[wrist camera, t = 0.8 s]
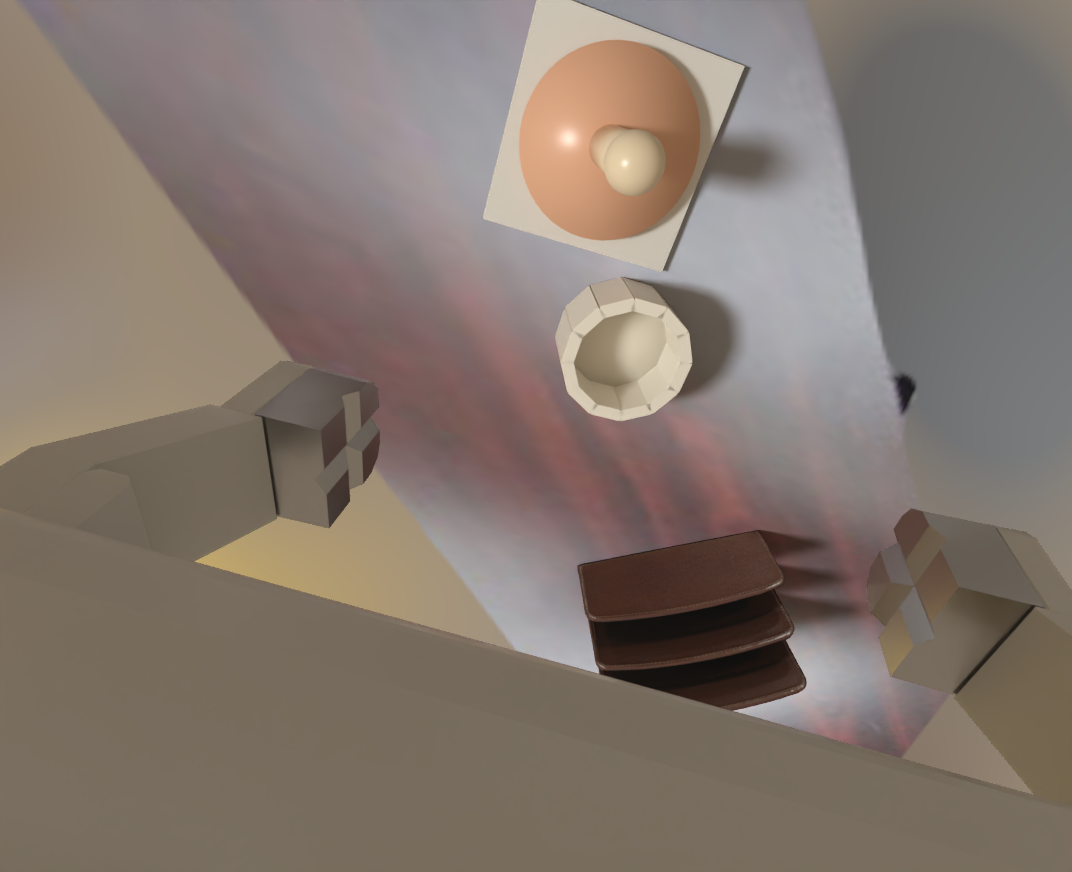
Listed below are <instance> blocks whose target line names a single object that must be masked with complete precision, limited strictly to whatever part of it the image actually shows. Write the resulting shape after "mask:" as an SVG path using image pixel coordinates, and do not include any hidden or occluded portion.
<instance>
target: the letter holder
mask: <svg viewBox="0 0 1072 872" xmlns="http://www.w3.org/2000/svg"><path fill="white" fill-rule="evenodd" d="M578 574H579V578H580V584H581V590H582V597H583V603H584V610H585V614H586V616H587V618H588V621H589V627H590V633H591V638H592V644H593V650H594V656H595V662H596V665H597V666H598V668H599V674H601V675H605V676H608V677H612V678H615V679H619V680H623V681H626V682H630V683H633V684H637V685H641V686H644V687H648V688H652V689H655V690H659V691H662V692H666V693H670V694H673V695H677V696H680V697H684V698H688V699H691V700H695V701H698V702H702V703H706V704H709V705H713V706H716V707H720V708H724V709H727V710H731V711H733V710H738V709H743V708H747V707H751V706H755V705H759V704H763V703H767V702H771V701H774V700H777V699H781V698H784V697H787V696H790V695H793V694H796V693H799V692H800V691H802V690H803V689H804V688H805V687H806V683H807V682H806V678H805V676H804V674H803V672H802V670H801V668H800V666H799V665H798V663H797V661H796V659H795V657H794V655H793V653H792V651H791V649H790V648H789V646H788V644H787V642H786V639H788V638H790V637H791V635H792V634H793V632H794V625H793V623H792V621H791V619H790V617H789V615H788V614H787V612H786V610H785V608H784V606H783V604H782V603H781V601H780V599H779V597H778V595H777V593H776V591H775V590H774V589H775V588H778V587H780V586H781V585H782V584H783V583H784V575H783V572H782V570H781V569H780V567H779V565H778V564H777V562H776V560H775V558H774V557H773V555H772V553H771V551H770V549H769V547H768V545H767V544H766V542H765V540H764V538H763V537H762V535H761V533H760V532H759V531H753V532H748V533H742V534H737V535H733V536H726V537H722V538H717V539H712V540H706V541H700V542H695V543H690V544H684V545H680V546H674V547H669V548H664V549H659V550H653V551H648V552H643V553H638V554H632V555H628V556H622V557H618V558H612V559H607V560H603V561H597V562H592V563H587V564H583V565H578Z"/></svg>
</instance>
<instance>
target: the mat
mask: <svg viewBox="0 0 1072 872" xmlns="http://www.w3.org/2000/svg"><path fill="white" fill-rule="evenodd" d="M604 40H627V41H633V42H637V43H640V44H644V45H646V46H648V47H650V48H652V49H654V50H656V51H658V52H659V53H661V54H662V55H664V56H665V57H666V58H667V59H668V60H670V61H671V62H672V63H673V64H674V65H675V66H676V67H677V69H678V70H679V71H680V72H681V74H682V75H683V76H684V78H685V80H686V81H687V83H688V85H689V86H690V89H691V91H692V93H693V96H694V98H695V101H696V105H697V109H698V113H699V120H700V147H699V154H698V158H697V163H696V166H695V169H694V172H693V175H692V177H691V180H690V182H689V184H688V186H687V188H686V190H685V191H684V193H683V194H682V196H681V198H680V199H679V200H678V202H677V203H676V204H675V205H674V207H673V208H672V209H671V210H670V211H669V212H668V213H667V214H666V215H665V216H664V217H663V218H662V219H660V220H659V221H658V222H657V223H655V224H654V225H652V226H651V227H649V228H647V229H646V230H644V231H642V232H640V233H637V234H635V235H632V236H629V237H626V238H622V239H616V240H604V241H601V240H591V239H586V238H582V237H579V236H576V235H574V234H571V233H569V232H567V231H565V230H564V229H562V228H560V227H559V226H557V225H556V224H555V223H553V222H552V221H551V220H550V219H549V218H548V217H547V216H546V215H545V214H544V213H543V212H542V211H541V209H540V208H539V207H538V205H537V204H536V203H535V201H534V199H533V197H532V196H531V194H530V192H529V190H528V187H527V185H526V183H525V179H524V176H523V172H522V169H521V162H520V156H519V136H520V127H521V122H522V117H523V114H524V111H525V108H526V105H527V103H528V100H529V98H530V96H531V94H532V92H533V90H534V89H535V87H536V85H537V84H538V82H539V81H540V79H541V78H542V77H543V76H544V75H545V73H546V72H547V71H548V70H549V69H550V68H551V67H552V66H553V65H554V64H555V63H556V62H557V61H559V60H560V59H561V58H563V57H564V56H566V55H567V54H568V53H570V52H572V51H574V50H576V49H578V48H580V47H583V46H586V45H588V44H591V43H594V42H599V41H604ZM744 67H745V66H743V65H740V64H738V63H735V62H733V61H730V60H727V59H725V58H722V57H719V56H717V55H714V54H711V53H709V52H706V51H704V50H701V49H698V48H696V47H693V46H690V45H688V44H685V43H683V42H680V41H677V40H675V39H672V38H669V37H667V36H664V35H661V34H659V33H656V32H654V31H651V30H648V29H646V28H643V27H640V26H638V25H635V24H632V23H630V22H627V21H625V20H622V19H619V18H617V17H614V16H611V15H609V14H606V13H604V12H601V11H598V10H596V9H593V8H590V7H588V6H585V5H582V4H580V3H577V2H575V1H572V0H536V4H535V8H534V12H533V16H532V20H531V24H530V28H529V32H528V37H527V41H526V45H525V49H524V53H523V57H522V61H521V65H520V69H519V73H518V77H517V81H516V85H515V89H514V93H513V97H512V101H511V105H510V110H509V114H508V118H507V122H506V126H505V130H504V134H503V138H502V142H501V146H500V150H499V154H498V158H497V162H496V166H495V170H494V174H493V178H492V182H491V187H490V191H489V195H488V199H487V203H486V207H485V211H484V215H483V219H486V220H489V221H492V222H496V223H499V224H502V225H506V226H509V227H512V228H516V229H519V230H522V231H526V232H529V233H532V234H536V235H539V236H542V237H546V238H549V239H552V240H556V241H559V242H562V243H566V244H569V245H572V246H576V247H579V248H582V249H586V250H589V251H592V252H596V253H599V254H602V255H606V256H609V257H613V258H616V259H619V260H623V261H626V262H629V263H633V264H636V265H639V266H643V267H646V268H649V269H653V270H656V271H659V272H662V271H663V268H664V266H665V263H666V261H667V258H668V256H669V253H670V251H671V248H672V246H673V243H674V241H675V238H676V236H677V233H678V231H679V228H680V226H681V223H682V221H683V219H684V216H685V214H686V211H687V209H688V206H689V204H690V201H691V199H692V196H693V194H694V191H695V189H696V186H697V184H698V181H699V179H700V176H701V174H702V171H703V169H704V166H705V164H706V161H707V159H708V156H709V154H710V151H711V149H712V146H713V144H714V141H715V139H716V136H717V134H718V131H719V129H720V127H721V124H722V122H723V119H724V117H725V114H726V112H727V109H728V107H729V104H730V102H731V99H732V97H733V94H734V92H735V89H736V87H737V84H738V82H739V79H740V77H741V74H742V72H743V69H744Z"/></svg>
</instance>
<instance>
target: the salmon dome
mask: <svg viewBox="0 0 1072 872" xmlns="http://www.w3.org/2000/svg"><path fill="white" fill-rule="evenodd" d="M699 147H700V120H699V113H698V109H697V105H696V101H695V98H694V96H693V93H692V91H691V89H690V86H689V85H688V83H687V81H686V80H685V78H684V76H683V75H682V74H681V72H680V71H679V70H678V69H677V67H676V66H675V65H674V64H673V63H672V62H671V61H670V60H668V59H667V58H666V57H665V56H664V55H662V54H661V53H659V52H658V51H656V50H654V49H652V48H650V47H648V46H646V45H644V44H640V43H637V42H633V41H627V40H604V41H599V42H594V43H591V44H588V45H586V46H583V47H580V48H578V49H576V50H574V51H572V52H570V53H568V54H567V55H566V56H564V57H563V58H561V59H560V60H559V61H557V62H556V63H555V64H554V65H553V66H552V67H551V68H550V69H549V70H548V71H547V72H546V73H545V75H544V76H543V77H542V78H541V79H540V81H539V82H538V84H537V85H536V87H535V89H534V90H533V92H532V94H531V96H530V98H529V100H528V103H527V105H526V108H525V111H524V114H523V117H522V122H521V127H520V136H519V156H520V162H521V169H522V172H523V176H524V179H525V183H526V185H527V187H528V190H529V192H530V194H531V196H532V197H533V199H534V201H535V203H536V204H537V205H538V207H539V208H540V209H541V211H542V212H543V213H544V214H545V215H546V216H547V217H548V218H549V219H550V220H551V221H552V222H553V223H555V224H556V225H557V226H559V227H560V228H562V229H564V230H565V231H567V232H569V233H571V234H574V235H576V236H579V237H582V238H586V239H591V240H601V241H604V240H616V239H622V238H626V237H629V236H632V235H635V234H637V233H640V232H642V231H644V230H646V229H647V228H649V227H651V226H652V225H654V224H655V223H657V222H658V221H659V220H660V219H662V218H663V217H664V216H665V215H666V214H667V213H668V212H669V211H670V210H671V209H672V208H673V207H674V205H675V204H676V203H677V202H678V200H679V199H680V198H681V196H682V194H683V193H684V191H685V190H686V188H687V186H688V184H689V182H690V180H691V177H692V175H693V172H694V169H695V166H696V163H697V158H698V154H699Z"/></svg>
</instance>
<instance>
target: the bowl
mask: <svg viewBox="0 0 1072 872" xmlns="http://www.w3.org/2000/svg"><path fill="white" fill-rule="evenodd" d="M555 339H556V344H557V348H558V353H559V357H560V362H561V366H562V371H563V375H564V379H565V384H566V388H567V392H568V394H569V395H571V396H572V397H573V398H574V399H575V400H576V401H577V402H578V403H579V404H580V405H581V406H582V407H583V408H584V409H585V410H586V411H587V412H588V413H590V414H592V415H597V416H601V417H605V418H609V419H613V420H617V421H620V420H621V421H624V420H628V419H633V418H637V417H641V416H646V415H650V414H652V413H654V412H656V411H657V410H658V409H659V408H661V407H662V406H663V405H665V404H666V403H667V402H668V401H670V400H671V399H672V398H673V397H675V396H676V395H677V394H678V392H680V390H681V388H682V385H683V383H684V381H685V379H686V377H687V375H688V372H689V370H690V368H691V366H692V354H691V345H690V335H689V332H688V330H687V329H686V327H685V326H684V325H683V323H682V322H681V320H680V319H679V318H678V316H677V315H676V314H675V312H674V311H673V310H672V308H671V307H670V306H669V305H668V304H667V303H666V301H665V300H664V299H663V298H662V297H661V296H660V294H659V293H658V292H657V291H656V290H655V289H654V287H652V286H651V285H647V284H644V283H640V282H637V281H634V280H630V279H627V278H623V277H622V278H621V277H620V278H616V279H612V280H608V281H604V282H600V283H595V284H591V285H590V286H588V287H587V288H586V289H584V290H583V291H582V292H581V293H580V294H579V295H578V296H577V297H576V298H575V299H573V300H572V301H571V302H570V303H569V304H568V305H567V306H566V308H564V311H563V314H562V317H561V320H560V323H559V326H558V329H557V332H556V335H555Z"/></svg>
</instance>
